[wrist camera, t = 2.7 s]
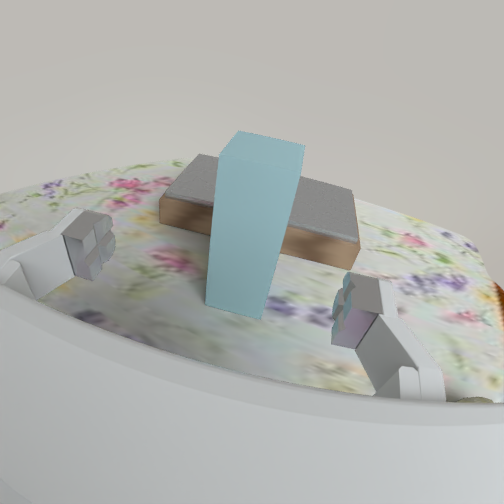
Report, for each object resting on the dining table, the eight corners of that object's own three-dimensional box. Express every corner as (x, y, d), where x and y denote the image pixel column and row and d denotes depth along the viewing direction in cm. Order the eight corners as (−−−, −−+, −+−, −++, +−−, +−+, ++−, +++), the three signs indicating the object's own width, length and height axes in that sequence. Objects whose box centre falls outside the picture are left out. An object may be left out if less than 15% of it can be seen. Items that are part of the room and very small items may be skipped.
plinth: (159, 222, 35) (159, 192, 33) (195, 177, 44) (197, 152, 42) (350, 270, 34) (363, 242, 31) (345, 213, 43) (354, 189, 41)
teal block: (205, 305, 28) (219, 154, 18) (220, 267, 31) (238, 130, 22) (260, 319, 27) (301, 172, 18) (269, 280, 31) (305, 145, 22)
